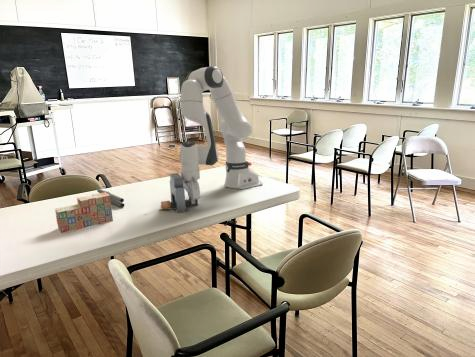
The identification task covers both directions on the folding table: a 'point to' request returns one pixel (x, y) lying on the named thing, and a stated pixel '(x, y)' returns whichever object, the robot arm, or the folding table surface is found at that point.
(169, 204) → the plug
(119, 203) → the metal rod assembly
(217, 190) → the folding table surface
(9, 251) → the folding table surface
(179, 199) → the grey notched block
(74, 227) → the stack of blocks
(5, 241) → the folding table surface
